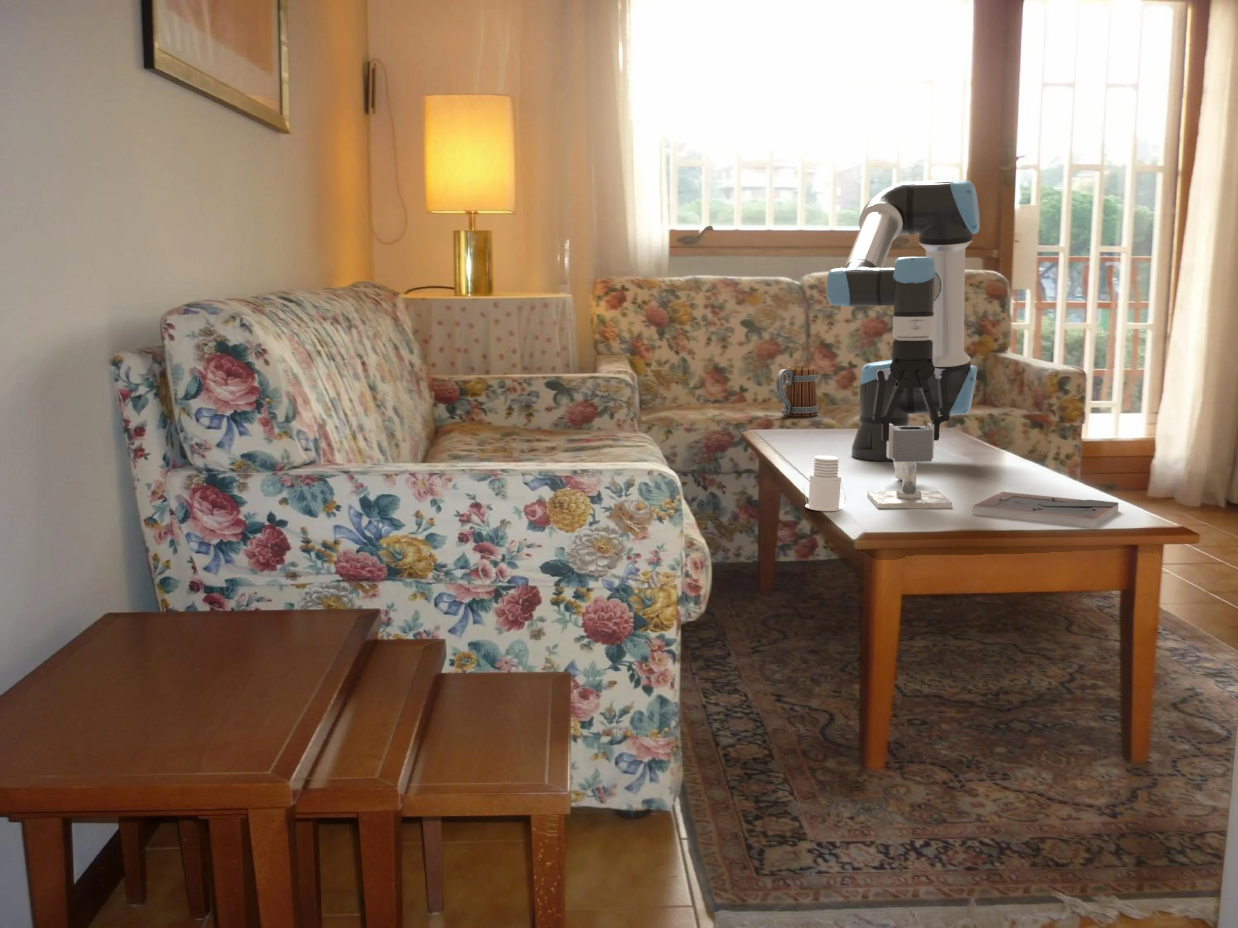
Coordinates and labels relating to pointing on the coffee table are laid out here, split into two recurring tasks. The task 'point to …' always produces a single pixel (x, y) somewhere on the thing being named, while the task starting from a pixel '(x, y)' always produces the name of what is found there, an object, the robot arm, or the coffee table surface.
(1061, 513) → the picture frame
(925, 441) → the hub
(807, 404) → the mug
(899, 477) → the lightbulb
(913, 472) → the shaft
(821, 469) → the downlight
